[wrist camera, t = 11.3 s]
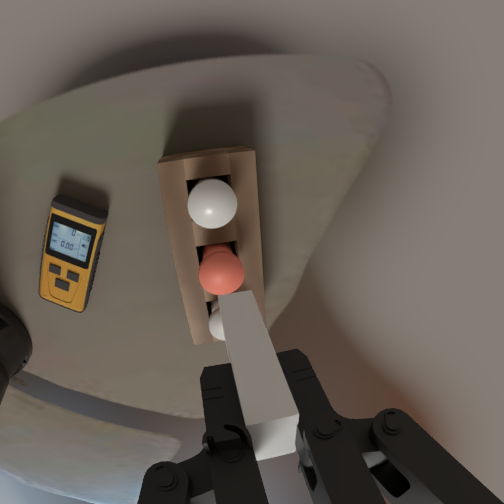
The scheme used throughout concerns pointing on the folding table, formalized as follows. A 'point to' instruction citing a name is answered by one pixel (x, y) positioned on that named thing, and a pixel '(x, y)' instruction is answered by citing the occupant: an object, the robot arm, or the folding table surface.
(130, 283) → the folding table surface
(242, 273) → the red plug
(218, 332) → the grey plug
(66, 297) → the electronic device
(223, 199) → the grey plug
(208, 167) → the socket block
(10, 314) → the robot arm
